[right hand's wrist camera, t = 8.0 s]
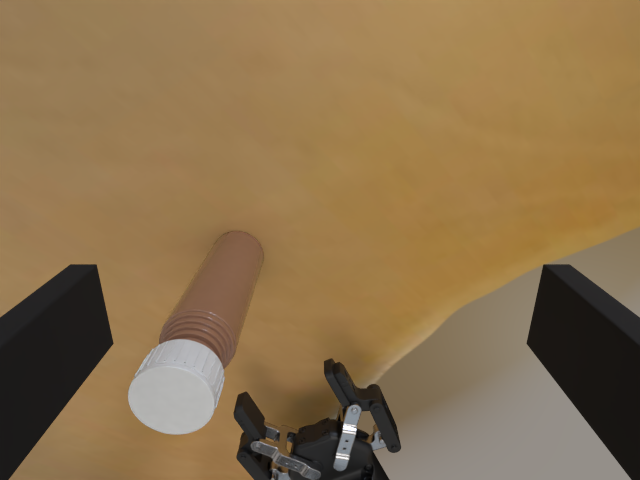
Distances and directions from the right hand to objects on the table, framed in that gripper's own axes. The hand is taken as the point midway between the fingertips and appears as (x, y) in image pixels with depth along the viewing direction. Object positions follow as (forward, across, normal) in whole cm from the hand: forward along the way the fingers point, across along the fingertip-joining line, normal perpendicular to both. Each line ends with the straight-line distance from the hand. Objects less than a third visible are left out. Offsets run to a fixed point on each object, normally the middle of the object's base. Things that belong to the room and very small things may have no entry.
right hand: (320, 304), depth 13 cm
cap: (+6, +8, +9) cm, 13 cm away
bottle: (+25, +8, +9) cm, 28 cm away
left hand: (+18, +3, +18) cm, 26 cm away
